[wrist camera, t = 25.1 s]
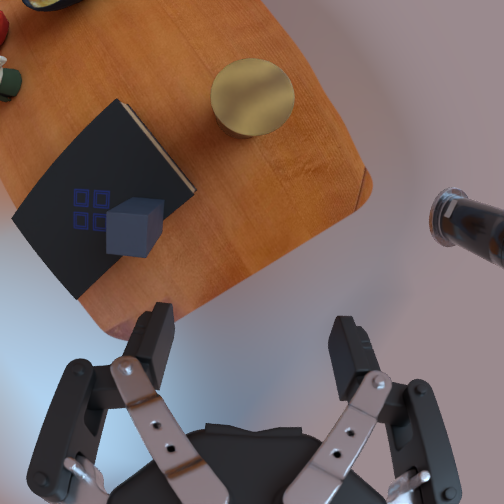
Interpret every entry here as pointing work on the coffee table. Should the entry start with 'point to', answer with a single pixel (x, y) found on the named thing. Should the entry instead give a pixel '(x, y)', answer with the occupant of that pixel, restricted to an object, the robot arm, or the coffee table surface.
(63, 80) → the coffee table surface
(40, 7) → the bowl
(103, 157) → the book
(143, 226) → the block
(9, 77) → the character mug
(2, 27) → the apple
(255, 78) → the canister
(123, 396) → the robot arm
